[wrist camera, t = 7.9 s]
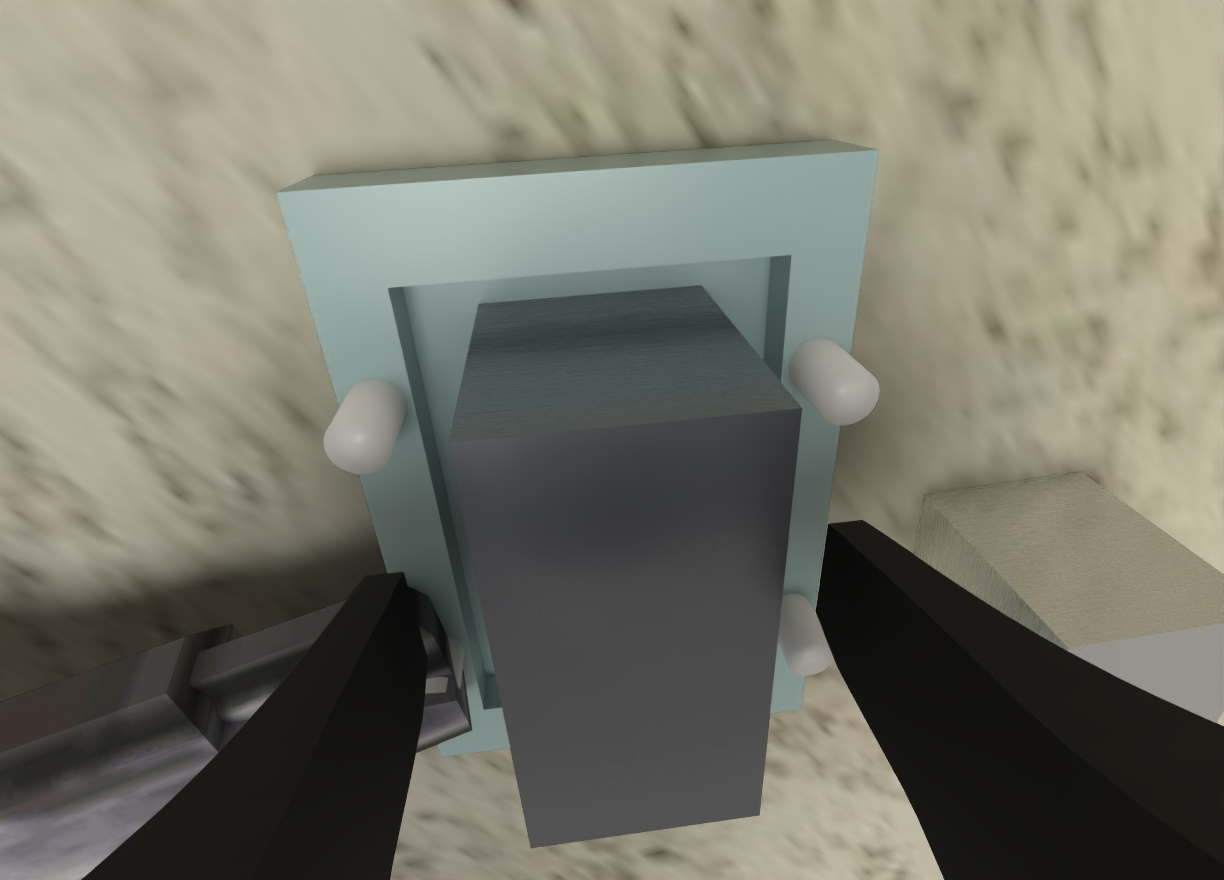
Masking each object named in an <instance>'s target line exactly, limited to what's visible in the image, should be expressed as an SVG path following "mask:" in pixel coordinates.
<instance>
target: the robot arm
mask: <svg viewBox="0 0 1224 880" xmlns="http://www.w3.org/2000/svg"><path fill="white" fill-rule="evenodd" d="M816 614H817V616H818V619H819V622H820V624H821V627H822V630H823V632H824V635H825V638H826V640H827V643H828V645H829V648H830V650H831V653H832V655H833V658H834V660H835V663H836V665H837V667H838V669H839V671H840V673H841V675H842V677H843V679H844V680H845V682H846V684H847V686H848V688H849V690H850V692H851V694H852V695H853V697H854V699H855V701H856V703H857V705H858V707H859V708H860V710H861V712H862V714H863V716H864V718H865V719H866V721H867V723H868V725H869V727H870V729H871V730H872V732H873V734H874V736H875V738H876V740H877V741H878V743H879V745H880V747H881V749H882V751H883V752H884V754H885V756H886V758H887V760H888V762H889V763H890V765H891V767H892V769H893V771H894V773H895V774H896V776H897V778H898V780H899V782H900V783H901V785H902V787H903V789H904V791H905V793H906V795H907V797H908V799H909V801H910V803H911V805H912V807H913V809H914V811H915V813H916V815H917V817H918V820H919V822H920V824H921V827H922V829H923V831H924V833H925V836H926V838H927V840H928V843H929V845H930V847H931V850H932V852H933V854H934V857H935V859H936V861H937V864H938V866H939V868H940V871H941V873H942V875H943V878H944V880H1224V726H1222V725H1219V724H1217V723H1215V722H1212V721H1210V720H1208V719H1206V718H1204V717H1201V716H1199V715H1197V714H1195V713H1193V712H1190V711H1188V710H1186V709H1184V708H1182V707H1179V706H1177V705H1175V704H1173V703H1170V702H1168V701H1166V700H1164V699H1162V698H1159V697H1157V696H1155V695H1153V694H1151V693H1149V692H1147V691H1145V690H1143V689H1141V688H1138V687H1136V686H1134V685H1132V684H1130V683H1128V682H1126V681H1124V680H1122V679H1120V678H1118V677H1116V676H1114V675H1112V674H1110V673H1109V672H1107V671H1105V670H1103V669H1101V668H1099V667H1097V666H1095V665H1093V664H1091V663H1089V662H1087V661H1086V660H1084V659H1082V658H1080V657H1078V656H1076V655H1074V654H1072V653H1070V652H1068V651H1067V650H1065V649H1063V648H1061V647H1059V646H1058V645H1056V644H1054V643H1052V642H1051V641H1049V640H1047V639H1045V638H1044V637H1042V636H1040V635H1038V634H1037V633H1035V632H1033V631H1032V630H1030V629H1028V628H1027V627H1025V626H1023V625H1022V624H1020V623H1018V622H1017V621H1015V620H1013V619H1012V618H1010V617H1008V616H1007V615H1005V614H1003V613H1002V612H1000V611H999V610H997V609H995V608H994V607H992V606H991V605H989V604H987V603H986V602H984V601H983V600H981V599H980V598H978V597H977V596H975V595H973V594H972V593H970V592H969V591H967V590H966V589H964V588H963V587H961V586H960V585H958V584H957V583H955V582H954V581H952V580H951V579H949V578H948V577H946V576H945V575H943V574H942V573H940V572H939V571H937V570H936V569H934V568H933V567H931V566H930V565H929V564H927V563H926V562H924V561H923V560H921V559H920V558H918V557H917V556H915V555H914V554H913V553H911V552H910V551H908V550H907V549H905V548H904V547H902V546H901V545H899V544H898V543H897V542H895V541H894V540H892V539H891V538H889V537H888V536H886V535H885V534H883V533H882V532H880V531H879V530H877V529H876V528H874V527H873V526H871V525H870V524H868V523H867V522H865V521H863V520H858V521H849V522H840V523H832V524H828V529H827V536H826V543H825V550H824V557H823V565H822V572H821V579H820V586H819V593H818V600H817V607H816ZM427 665H428V658H427V654H426V650H425V647H424V643H423V639H422V636H421V632H420V629H419V625H418V621H417V618H416V614H415V610H414V607H413V603H412V600H411V596H410V592H409V589H408V585H407V581H406V578H405V574H404V572H396V573H387V574H378V575H369V576H366V577H365V578H364V579H363V580H362V581H361V582H360V584H359V585H358V586H357V587H356V589H355V590H354V591H353V593H352V594H351V595H350V596H349V598H348V599H347V600H346V602H345V603H344V604H343V606H342V607H341V608H340V609H339V611H338V612H337V613H336V615H335V616H334V617H333V619H332V620H331V621H330V622H329V624H328V625H327V626H326V628H325V629H324V630H323V631H322V633H321V634H320V635H319V637H318V638H317V639H316V640H315V642H314V643H313V644H312V645H311V647H310V648H309V649H308V650H307V652H306V653H305V654H304V655H303V656H302V658H301V659H300V660H299V661H298V663H297V664H296V665H295V666H294V667H293V669H292V670H291V671H290V672H289V674H288V675H287V676H286V677H285V679H284V680H283V681H282V682H281V683H280V685H279V686H278V687H277V688H276V689H275V690H274V692H273V693H272V694H271V695H270V696H269V697H268V698H267V699H266V701H265V702H264V703H263V704H262V705H261V706H260V707H259V708H258V710H257V711H256V712H255V713H254V714H253V715H252V716H251V717H250V719H249V720H248V721H247V722H246V723H245V724H244V725H243V726H242V728H241V729H240V730H239V731H238V732H237V733H236V734H235V735H234V737H233V738H232V739H231V740H230V741H229V742H228V743H227V744H226V745H225V746H224V747H223V748H222V749H221V750H220V751H219V752H218V753H217V755H216V756H215V757H214V758H213V759H212V760H211V761H210V762H209V763H208V764H207V765H206V766H205V767H204V768H203V769H202V770H201V771H200V772H199V773H198V774H197V775H196V776H195V777H194V778H193V779H192V780H191V781H190V782H189V783H188V784H187V785H186V786H185V787H184V788H183V789H181V790H180V791H179V792H178V793H177V794H176V795H175V796H174V797H173V798H172V799H171V800H170V801H169V802H168V803H167V804H166V805H165V806H164V807H163V808H162V809H161V810H159V811H158V812H157V813H156V814H155V815H154V816H153V817H152V818H151V819H149V820H148V821H147V822H146V823H145V824H144V825H143V826H142V827H140V828H139V829H138V830H137V831H136V832H135V833H134V834H132V835H131V836H130V837H129V838H128V839H127V840H126V841H125V842H123V843H122V844H121V845H120V846H119V847H118V848H117V849H115V850H114V851H113V852H112V853H111V854H110V855H109V856H108V857H106V858H105V859H104V860H103V861H102V862H101V863H100V864H98V865H97V866H96V867H95V868H94V869H93V870H92V871H91V872H89V873H88V874H87V875H86V876H85V877H84V878H82V879H81V880H390V877H391V871H392V865H393V859H394V855H395V850H396V845H397V841H398V836H399V831H400V826H401V822H402V817H403V812H404V807H405V803H406V798H407V793H408V788H409V784H410V779H411V774H412V769H413V765H414V760H415V755H416V750H417V745H418V740H419V735H420V730H421V725H422V720H423V711H424V701H425V691H426V678H427Z"/></svg>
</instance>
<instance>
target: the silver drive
mask: <svg viewBox="0 0 1224 880" xmlns="http://www.w3.org/2000/svg"><path fill="white" fill-rule="evenodd" d="M914 555H915V556H917V557H918V558H920V559H921V560H923V561H924V562H926V563H927V564H929V565H930V566H931V567H933V568H934V569H936V570H937V571H939V572H940V573H942V574H943V575H945V576H946V577H948V578H949V579H951V580H952V581H954V582H955V583H957V584H958V585H960V586H961V587H963V588H964V589H966V590H967V591H969V592H970V593H972V594H973V595H975V596H977V597H978V598H980V599H981V600H983V601H984V602H986V603H987V604H989V605H991V606H992V607H994V608H995V609H997V610H999V611H1000V612H1002V613H1003V614H1005V615H1007V616H1008V617H1010V618H1012V619H1013V620H1015V621H1017V622H1018V623H1020V624H1022V625H1023V626H1025V627H1027V628H1028V629H1030V630H1032V631H1033V632H1035V633H1037V634H1038V635H1040V636H1042V637H1044V638H1045V639H1047V640H1049V641H1051V642H1052V643H1054V644H1056V645H1058V646H1059V647H1061V648H1063V649H1065V650H1067V651H1068V652H1070V653H1072V654H1074V655H1076V656H1078V657H1080V658H1082V659H1084V660H1086V661H1087V662H1089V663H1091V664H1093V665H1095V666H1097V667H1099V668H1101V669H1103V670H1105V671H1107V672H1109V673H1110V674H1112V675H1114V676H1116V677H1118V678H1120V679H1122V680H1124V681H1126V682H1128V683H1130V684H1132V685H1134V686H1136V687H1138V688H1141V689H1143V690H1145V691H1147V692H1149V693H1151V694H1153V695H1155V696H1157V697H1159V698H1162V699H1164V700H1166V701H1168V702H1170V703H1173V704H1175V705H1177V706H1179V707H1182V708H1184V709H1186V710H1188V711H1190V712H1193V713H1195V714H1197V715H1199V716H1201V717H1204V718H1206V719H1208V720H1210V721H1212V722H1215V723H1217V721H1218V719H1219V717H1220V716H1221V714H1222V712H1223V711H1224V574H1222V573H1221V572H1220V571H1218V570H1217V569H1215V568H1214V567H1213V566H1211V565H1210V564H1208V563H1207V562H1206V561H1204V560H1203V559H1202V558H1200V557H1199V556H1197V555H1196V554H1195V553H1193V552H1192V551H1190V550H1189V549H1188V548H1186V547H1185V546H1183V545H1182V544H1181V543H1179V542H1178V541H1177V540H1175V539H1174V538H1172V537H1171V536H1170V535H1168V534H1167V533H1165V532H1164V531H1163V530H1161V529H1160V528H1159V527H1157V526H1156V525H1154V524H1153V523H1152V522H1150V521H1149V520H1147V519H1146V518H1145V517H1143V516H1142V515H1140V514H1139V513H1138V512H1136V511H1135V510H1134V509H1132V508H1131V507H1129V506H1128V505H1127V504H1125V503H1124V502H1122V501H1121V500H1120V499H1118V498H1117V497H1116V496H1114V495H1113V494H1111V493H1110V492H1109V491H1107V490H1106V489H1104V488H1103V487H1102V486H1100V485H1099V484H1097V483H1096V482H1095V481H1093V480H1092V479H1091V478H1089V477H1088V476H1086V475H1085V474H1084V473H1082V472H1081V471H1080V472H1073V473H1066V474H1060V475H1053V476H1046V477H1039V478H1033V479H1026V480H1019V481H1012V482H1006V483H999V484H992V485H985V486H979V487H972V488H965V489H958V490H952V491H945V492H938V493H931V494H925V495H924V499H923V504H922V510H921V516H920V521H919V527H918V533H917V539H916V544H915V550H914Z"/></svg>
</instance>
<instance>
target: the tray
mask: <svg viewBox="0 0 1224 880" xmlns="http://www.w3.org/2000/svg"><path fill="white" fill-rule="evenodd" d="M878 155H879V150H877V149H873V148H868V147H863V146H859V145H854V144H849V143H844V142H840V141H835V140H822V141H807V142H793V143H778V144H764V145H749V146H735V147H720V148H706V149H691V150H677V151H662V152H648V153H634V154H619V155H605V156H590V157H576V158H561V159H547V160H532V161H518V162H503V163H489V164H474V165H460V166H445V167H431V168H416V169H402V170H387V171H373V172H358V173H344V174H329V175H315V176H311V177H308V178H306V179H304V180H302V181H300V182H298V183H295V184H293V185H291V186H289V187H287V188H285V189H282V190H280V191H278V192H276V194H277V198H278V201H279V205H280V208H281V211H282V215H283V218H284V222H285V225H286V229H287V232H288V235H289V239H290V242H291V246H292V249H293V252H294V256H295V259H296V263H297V266H298V270H299V273H300V276H301V280H302V283H303V287H304V290H305V293H306V297H307V300H308V304H309V307H310V311H311V314H312V317H313V321H314V324H315V328H316V331H317V334H318V338H319V341H320V345H321V348H322V352H323V355H324V358H325V362H326V365H327V369H328V372H329V375H330V379H331V382H332V386H333V389H334V393H335V396H336V399H337V403H338V406H339V410H338V411H337V413H336V415H335V417H334V418H333V420H332V422H331V424H330V425H329V427H328V429H327V431H326V433H325V435H324V439H323V446H324V450H325V453H326V455H327V456H328V458H329V459H330V460H331V461H332V463H333V464H335V465H336V466H337V467H339V468H340V469H342V470H344V471H347V472H350V473H354V474H358V475H359V478H360V481H361V485H362V488H363V492H364V495H365V499H366V502H367V505H368V509H369V512H370V516H371V519H372V522H373V526H374V529H375V533H376V536H377V540H378V543H379V546H380V550H381V553H382V557H383V560H384V563H385V567H386V570H387V573H396V572H404V574H405V578H406V581H407V585H408V586H409V587H411V588H413V589H415V590H417V591H419V592H421V593H423V594H425V595H427V596H429V598H430V600H431V602H432V604H433V606H434V608H435V611H436V613H437V615H438V617H439V619H440V621H441V623H442V625H443V628H444V630H445V632H446V634H447V636H448V641H449V647H450V653H451V658H452V664H453V669H454V673H455V678H456V682H457V685H458V688H459V689H460V687H461V679H462V670H464V677H465V683H466V690H467V697H468V704H469V711H470V717H471V724H472V731H469V732H467V733H465V734H462V735H460V736H457V737H455V738H452V739H450V740H447V741H445V742H442V743H440V744H437V745H438V748H439V751H440V755H441V757H446V756H454V755H462V754H469V753H477V752H484V751H492V750H499V749H507V748H510V744H509V739H508V735H507V730H506V725H505V720H504V715H503V710H502V705H501V701H500V696H499V691H498V686H497V681H496V676H495V671H494V666H493V662H492V657H491V652H490V647H489V642H488V637H487V632H486V628H485V623H484V618H483V613H482V608H481V603H480V598H479V593H478V589H477V584H476V579H475V574H474V569H473V564H472V559H471V555H470V550H469V545H468V540H467V535H466V530H465V525H464V521H463V516H462V511H461V506H460V501H459V496H458V491H457V486H456V482H455V477H454V472H453V467H452V462H451V457H450V452H449V448H448V440H449V435H450V431H451V426H452V422H453V417H454V412H455V408H456V403H457V399H458V394H459V390H460V385H461V381H462V376H463V372H464V367H465V363H466V358H467V354H468V349H469V345H470V340H471V336H472V331H473V327H474V322H475V318H476V313H477V309H478V304H483V303H495V302H507V301H519V300H530V299H542V298H554V297H566V296H578V295H590V294H602V293H613V292H625V291H637V290H649V289H661V288H673V287H685V286H697V285H702V287H703V288H704V289H705V290H706V291H707V293H708V294H709V295H710V296H711V298H712V299H713V300H714V301H715V302H716V304H717V305H718V306H719V307H720V309H721V310H722V311H723V312H724V313H725V315H726V316H727V317H728V318H729V319H730V321H731V322H732V323H733V324H734V326H735V327H736V328H737V329H738V330H739V332H740V333H741V334H742V335H743V337H744V338H745V339H746V340H747V341H748V343H749V344H750V345H751V346H752V347H753V349H754V350H755V351H756V352H757V354H758V355H759V356H760V357H761V358H762V360H763V361H764V362H765V363H766V365H767V366H768V367H769V368H770V369H771V371H772V372H773V373H774V374H775V376H776V377H777V378H778V379H779V380H780V382H781V383H782V384H783V385H784V386H785V388H786V389H787V390H788V391H789V393H790V394H791V395H792V396H793V397H794V399H795V400H796V401H797V402H798V404H799V405H800V406H801V407H802V416H801V426H800V435H799V445H798V454H797V464H796V473H795V483H794V492H793V502H792V511H791V521H790V530H789V540H788V549H787V559H786V568H785V578H784V587H783V597H782V606H781V615H780V625H779V634H778V644H777V653H776V663H775V672H774V682H773V691H772V701H771V710H770V713H777V712H785V711H792V710H800V709H801V704H802V697H803V690H804V683H805V676H809V675H814V674H817V673H820V672H822V671H824V670H825V669H826V668H828V667H829V666H830V665H831V664H832V662H833V660H834V658H833V655H832V653H831V650H830V648H829V645H828V643H827V640H826V638H825V635H824V632H823V630H822V627H821V624H820V622H819V620H818V618H817V616H816V614H815V612H814V611H815V604H816V597H817V590H818V583H819V576H820V569H821V562H822V554H823V547H824V540H825V533H826V526H827V519H828V512H829V504H830V497H831V490H832V483H833V476H834V469H835V462H836V455H837V447H838V440H839V433H840V426H844V425H850V424H854V423H856V422H858V421H860V420H862V419H863V418H865V417H866V416H867V415H868V414H869V413H870V412H871V411H872V410H873V409H874V407H875V406H876V404H877V401H878V399H879V393H880V388H879V384H878V381H877V379H876V378H875V377H874V376H873V375H872V374H871V373H870V372H869V371H868V370H866V369H865V368H864V367H863V366H862V365H861V364H860V363H858V362H857V361H856V360H855V359H854V358H853V357H851V356H850V355H851V348H852V341H853V333H854V326H855V319H856V312H857V305H858V298H859V291H860V284H861V276H862V269H863V262H864V255H865V248H866V241H867V234H868V227H869V219H870V212H871V205H872V198H873V191H874V184H875V177H876V170H877V162H878ZM447 682H448V678H446V677H434V678H430V679H426V691H425V694H427V693H444V692H446V689H447Z"/></svg>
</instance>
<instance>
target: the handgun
mask: <svg viewBox="0 0 1224 880" xmlns="http://www.w3.org/2000/svg"><path fill="white" fill-rule="evenodd" d="M408 589H409V592H410V596H411V600H412V603H413V607H414V610H415V614H416V618H417V621H418V625H419V629H420V632H421V636H422V639H423V643H424V647H425V650H426V654H427V658H428V665H427V678H426V679H430V678H434V677H446V678H448V682H447V689H446V692H444V693H427V694H425V701H424V711H423V720H422V725H421V730H420V735H419V740H418V745H417V750H416V753H417V752H420V751H422V750H425V749H427V748H430V747H432V746H435V745H437V744H440V743H442V742H445V741H447V740H450V739H452V738H455V737H457V736H460V735H462V734H465V733H467V732H469V731H472V724H471V717H470V711H469V704H468V697H467V690H466V683H465V677H464V670H462V679H461V687H460V689H459V688H458V685H457V682H456V678H455V673H454V669H453V664H452V658H451V653H450V647H449V641H448V636H447V634H446V632H445V630H444V628H443V625H442V623H441V621H440V619H439V617H438V615H437V613H436V611H435V608H434V606H433V604H432V602H431V600H430V598H429V596H427V595H425V594H423V593H421V592H419V591H417V590H415V589H413V588H411V587H409V586H408ZM345 602H346V600H345V601H342V602H339V603H336V604H334V605H331V606H328V607H325V608H322V609H320V610H317V611H314V612H311V613H308V614H306V615H303V616H300V617H297V618H294V619H292V620H289V621H286V622H283V623H280V624H277V625H275V626H272V627H269V628H266V629H263V630H261V631H258V632H255V633H252V634H249V635H247V636H244V637H242V636H241V635H240V634H239V632H238V631H237V630H236V628H235V627H234V626H233V624H229V625H226V626H222V627H218V628H215V629H211V630H208V631H204V632H201V633H197V634H194V635H190V636H187V637H183V638H181V639H178V640H175V641H172V642H169V643H166V644H163V645H161V646H158V647H155V648H152V649H149V650H146V651H143V652H141V653H138V654H135V655H132V656H129V657H126V658H124V659H121V660H118V661H115V662H112V663H109V664H106V665H104V666H101V667H98V668H95V669H92V670H89V671H86V672H84V673H81V674H78V675H75V676H72V677H69V678H67V679H64V680H61V681H58V682H55V683H52V684H49V685H47V686H44V687H41V688H38V689H35V690H32V691H29V692H27V693H24V694H21V695H18V696H15V697H12V698H9V699H7V700H4V701H1V702H0V880H81V879H82V878H84V877H85V876H86V875H87V874H88V873H89V872H91V871H92V870H93V869H94V868H95V867H96V866H97V865H98V864H100V863H101V862H102V861H103V860H104V859H105V858H106V857H108V856H109V855H110V854H111V853H112V852H113V851H114V850H115V849H117V848H118V847H119V846H120V845H121V844H122V843H123V842H125V841H126V840H127V839H128V838H129V837H130V836H131V835H132V834H134V833H135V832H136V831H137V830H138V829H139V828H140V827H142V826H143V825H144V824H145V823H146V822H147V821H148V820H149V819H151V818H152V817H153V816H154V815H155V814H156V813H157V812H158V811H159V810H161V809H162V808H163V807H164V806H165V805H166V804H167V803H168V802H169V801H170V800H171V799H172V798H173V797H174V796H175V795H176V794H177V793H178V792H179V791H180V790H181V789H183V788H184V787H185V786H186V785H187V784H188V783H189V782H190V781H191V780H192V779H193V778H194V777H195V776H196V775H197V774H198V773H199V772H200V771H201V770H202V769H203V768H204V767H205V766H206V765H207V764H208V763H209V762H210V761H211V760H212V759H213V758H214V757H215V756H216V755H217V753H218V752H219V751H220V750H221V749H222V748H223V747H224V746H225V745H226V744H227V743H228V742H229V741H230V740H231V739H232V738H233V737H234V735H235V734H236V733H237V732H238V731H239V730H240V729H241V728H242V726H243V725H244V724H245V723H246V722H247V721H248V720H249V719H250V717H251V716H252V715H253V714H254V713H255V712H256V711H257V710H258V708H259V707H260V706H261V705H262V704H263V703H264V702H265V701H266V699H267V698H268V697H269V696H270V695H271V694H272V693H273V692H274V690H275V689H276V688H277V687H278V686H279V685H280V683H281V682H282V681H283V680H284V679H285V677H286V676H287V675H288V674H289V672H290V671H291V670H292V669H293V667H294V666H295V665H296V664H297V663H298V661H299V660H300V659H301V658H302V656H303V655H304V654H305V653H306V652H307V650H308V649H309V648H310V647H311V645H312V644H313V643H314V642H315V640H316V639H317V638H318V637H319V635H320V634H321V633H322V631H323V630H324V629H325V628H326V626H327V625H328V624H329V622H330V621H331V620H332V619H333V617H334V616H335V615H336V613H337V612H338V611H339V609H340V608H341V607H342V606H343V604H344V603H345Z"/></svg>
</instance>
